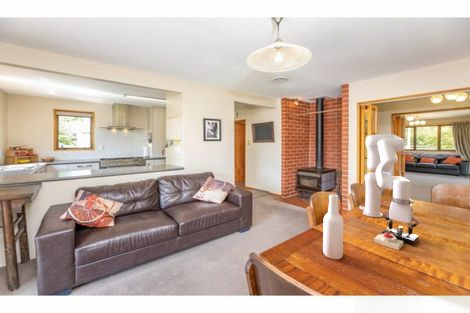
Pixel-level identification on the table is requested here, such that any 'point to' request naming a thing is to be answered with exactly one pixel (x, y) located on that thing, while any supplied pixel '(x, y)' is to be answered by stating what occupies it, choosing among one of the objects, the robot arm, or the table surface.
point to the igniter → (388, 241)
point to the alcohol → (333, 230)
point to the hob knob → (400, 230)
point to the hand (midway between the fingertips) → (399, 231)
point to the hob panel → (403, 236)
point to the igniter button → (388, 235)
